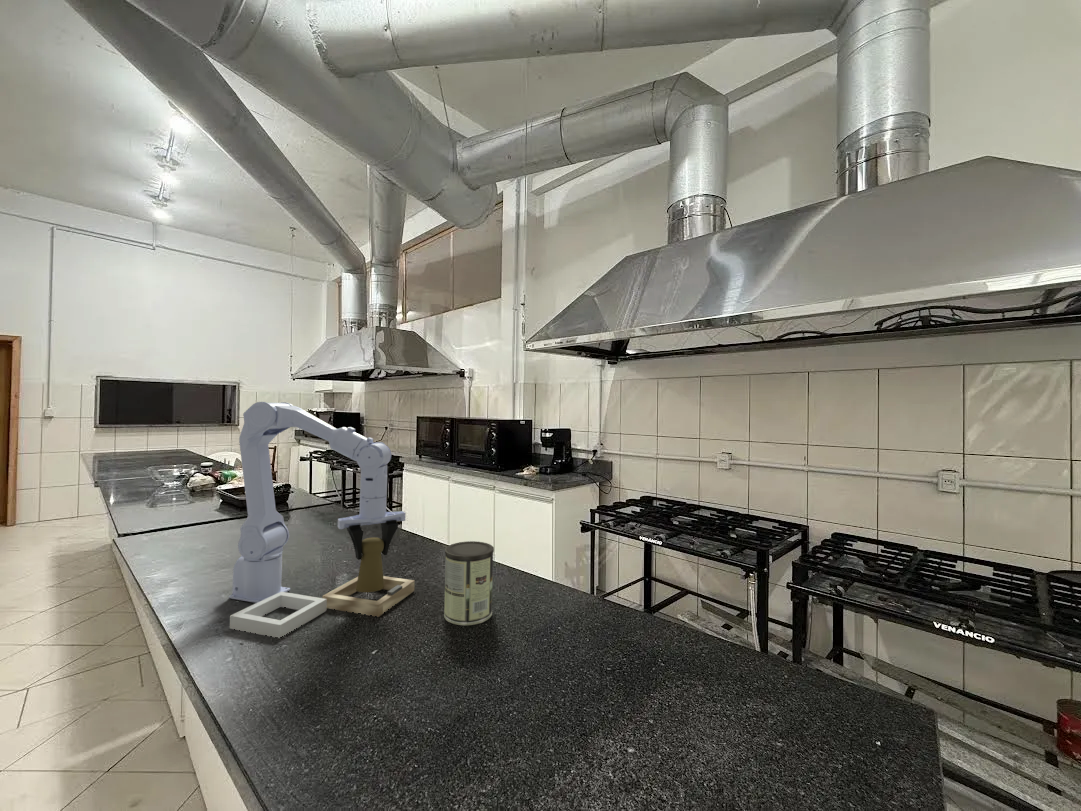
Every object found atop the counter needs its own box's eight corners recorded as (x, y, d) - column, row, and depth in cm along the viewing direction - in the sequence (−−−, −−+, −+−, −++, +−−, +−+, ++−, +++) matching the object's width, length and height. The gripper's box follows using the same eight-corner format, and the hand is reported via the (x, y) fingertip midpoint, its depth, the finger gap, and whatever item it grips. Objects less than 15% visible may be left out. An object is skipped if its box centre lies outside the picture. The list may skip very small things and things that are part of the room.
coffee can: (461, 600, 102) (463, 538, 102) (500, 609, 97) (502, 545, 98) (432, 618, 92) (434, 550, 93) (474, 630, 88) (476, 559, 88)
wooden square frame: (322, 607, 96) (322, 593, 96) (363, 583, 110) (364, 570, 110) (378, 616, 93) (378, 602, 93) (414, 590, 106) (414, 577, 106)
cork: (376, 593, 97) (378, 541, 98) (350, 591, 98) (352, 540, 99) (389, 584, 103) (391, 535, 104) (364, 582, 104) (366, 534, 105)
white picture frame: (229, 628, 86) (230, 615, 86) (280, 602, 98) (280, 591, 98) (279, 638, 83) (280, 624, 83) (326, 610, 95) (326, 598, 95)
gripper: (343, 502, 94) (341, 567, 94) (410, 496, 103) (409, 555, 102) (336, 496, 99) (334, 557, 99) (400, 491, 108) (398, 547, 108)
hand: (371, 556), depth 101 cm, fingers closed on cork, 5 cm apart
